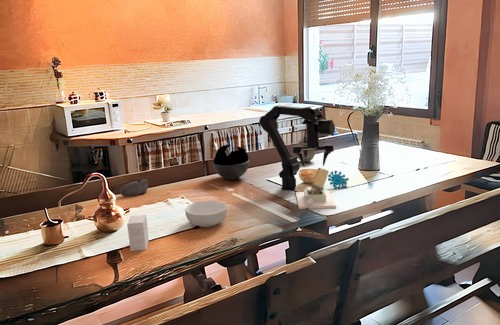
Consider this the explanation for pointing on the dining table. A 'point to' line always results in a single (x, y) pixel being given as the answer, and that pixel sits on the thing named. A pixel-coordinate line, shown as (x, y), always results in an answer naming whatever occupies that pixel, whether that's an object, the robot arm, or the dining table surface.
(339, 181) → the teal spiky figurine
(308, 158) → the decorative egg
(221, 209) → the cereal bowl
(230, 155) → the coal bowl
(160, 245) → the dining table surface
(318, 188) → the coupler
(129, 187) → the perforated stone tool
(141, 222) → the small box
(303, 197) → the shaft mount
